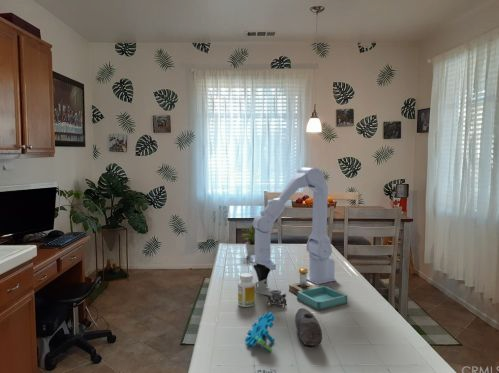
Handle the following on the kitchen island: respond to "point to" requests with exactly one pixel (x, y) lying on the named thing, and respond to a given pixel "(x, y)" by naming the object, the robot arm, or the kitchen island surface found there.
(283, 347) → the kitchen island surface
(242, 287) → the supplement bottle
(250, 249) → the house plant
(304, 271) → the pin
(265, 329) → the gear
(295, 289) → the socket
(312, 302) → the tray
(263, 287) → the bracket
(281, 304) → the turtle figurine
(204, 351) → the kitchen island surface
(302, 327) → the perforated stone tool
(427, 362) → the kitchen island surface
